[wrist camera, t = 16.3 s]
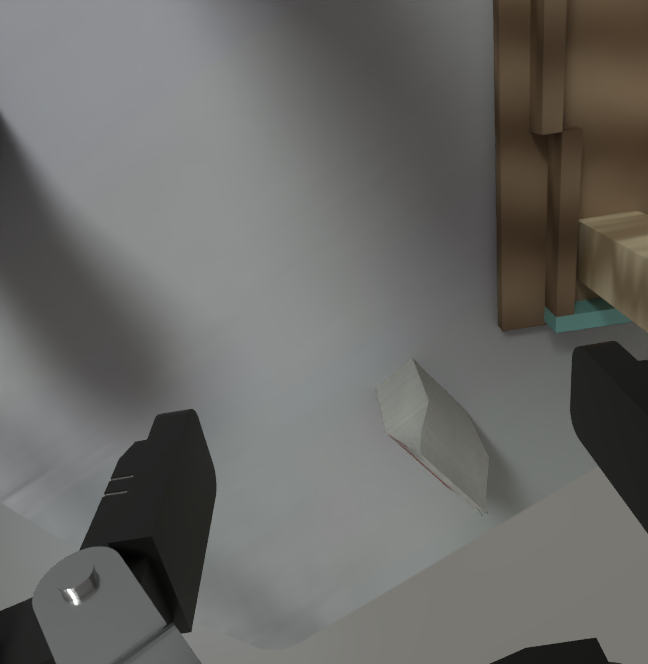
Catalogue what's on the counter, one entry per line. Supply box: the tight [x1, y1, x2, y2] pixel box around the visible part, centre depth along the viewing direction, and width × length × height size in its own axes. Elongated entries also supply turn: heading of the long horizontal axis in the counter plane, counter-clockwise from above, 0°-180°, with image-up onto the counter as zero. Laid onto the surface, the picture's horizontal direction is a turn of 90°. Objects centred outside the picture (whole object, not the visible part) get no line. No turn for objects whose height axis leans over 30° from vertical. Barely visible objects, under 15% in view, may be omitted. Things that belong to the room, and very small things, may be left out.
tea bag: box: [376, 358, 490, 516], centre depth 40 cm, size 4×7×10 cm, turn 44°
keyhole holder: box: [493, 0, 648, 333], centre depth 35 cm, size 25×14×3 cm, turn 8°
